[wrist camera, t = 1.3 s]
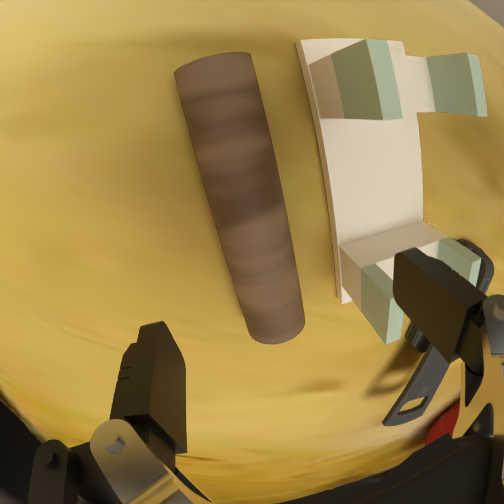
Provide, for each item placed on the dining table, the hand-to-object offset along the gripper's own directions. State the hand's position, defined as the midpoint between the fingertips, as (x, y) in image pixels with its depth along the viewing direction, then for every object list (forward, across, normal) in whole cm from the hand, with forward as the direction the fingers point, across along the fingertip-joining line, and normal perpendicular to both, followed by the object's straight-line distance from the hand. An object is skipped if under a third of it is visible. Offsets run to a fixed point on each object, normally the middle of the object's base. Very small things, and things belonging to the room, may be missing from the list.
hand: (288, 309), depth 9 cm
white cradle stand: (+13, -11, 0) cm, 17 cm away
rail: (+13, 0, 0) cm, 13 cm away
